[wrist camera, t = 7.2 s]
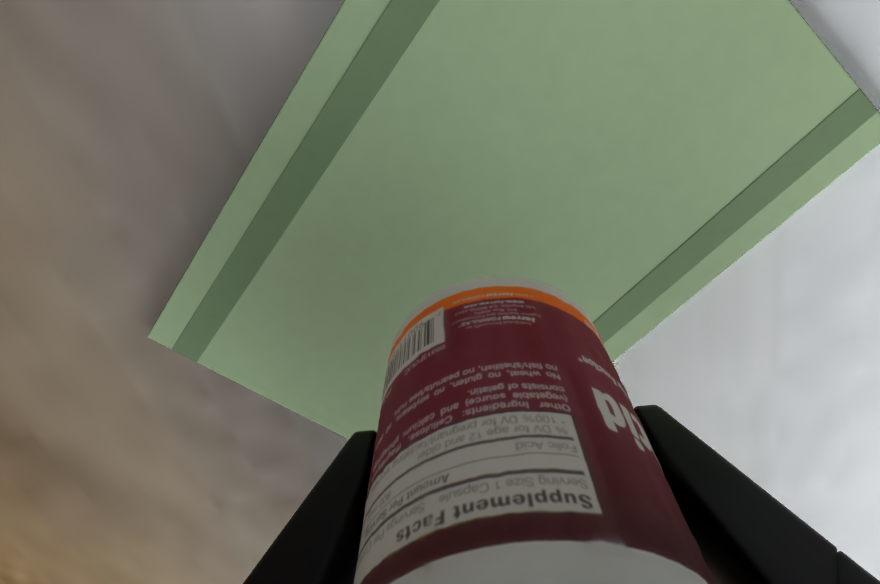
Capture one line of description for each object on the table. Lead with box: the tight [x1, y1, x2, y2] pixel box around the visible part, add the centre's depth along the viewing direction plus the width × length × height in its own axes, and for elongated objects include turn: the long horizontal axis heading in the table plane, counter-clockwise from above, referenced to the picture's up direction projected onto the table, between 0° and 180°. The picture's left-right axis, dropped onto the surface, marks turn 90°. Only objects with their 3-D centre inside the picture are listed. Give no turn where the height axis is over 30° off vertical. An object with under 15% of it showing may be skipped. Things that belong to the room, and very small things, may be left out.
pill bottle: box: [354, 276, 717, 584], centre depth 8 cm, size 5×5×8 cm
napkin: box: [148, 0, 880, 439], centre depth 16 cm, size 14×20×1 cm
